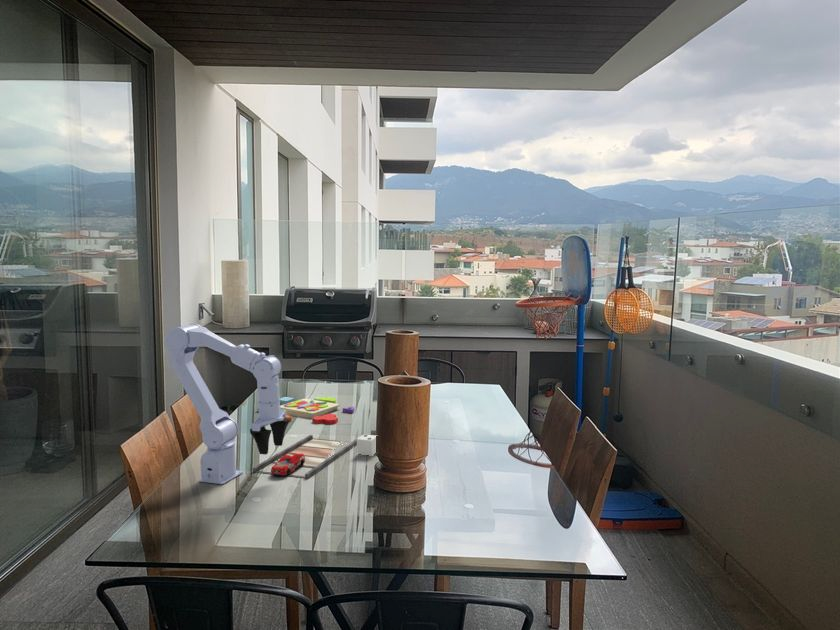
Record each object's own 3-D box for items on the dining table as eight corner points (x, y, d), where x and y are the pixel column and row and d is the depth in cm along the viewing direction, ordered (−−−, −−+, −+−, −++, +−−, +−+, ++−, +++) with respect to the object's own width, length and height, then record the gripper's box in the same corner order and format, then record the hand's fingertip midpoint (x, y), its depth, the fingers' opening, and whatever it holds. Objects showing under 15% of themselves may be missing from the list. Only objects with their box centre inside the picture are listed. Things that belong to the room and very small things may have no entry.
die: (372, 456, 190) (371, 440, 189) (357, 454, 192) (356, 438, 191) (378, 451, 195) (378, 435, 194) (363, 449, 196) (363, 433, 196)
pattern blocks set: (240, 420, 235) (240, 412, 235) (286, 399, 267) (286, 392, 267) (332, 427, 224) (332, 419, 223) (368, 404, 255) (368, 397, 255)
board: (308, 478, 173) (308, 474, 172) (252, 471, 179) (252, 467, 178) (359, 443, 203) (358, 439, 203) (310, 438, 209) (310, 434, 209)
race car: (284, 478, 173) (283, 464, 172) (267, 476, 174) (267, 463, 174) (308, 462, 185) (307, 449, 184) (292, 461, 187) (291, 448, 186)
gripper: (267, 408, 162) (269, 459, 164) (295, 395, 176) (297, 442, 177) (243, 406, 164) (246, 457, 166) (273, 394, 178) (275, 440, 179)
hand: (271, 449), depth 172 cm, fingers open, 7 cm apart
